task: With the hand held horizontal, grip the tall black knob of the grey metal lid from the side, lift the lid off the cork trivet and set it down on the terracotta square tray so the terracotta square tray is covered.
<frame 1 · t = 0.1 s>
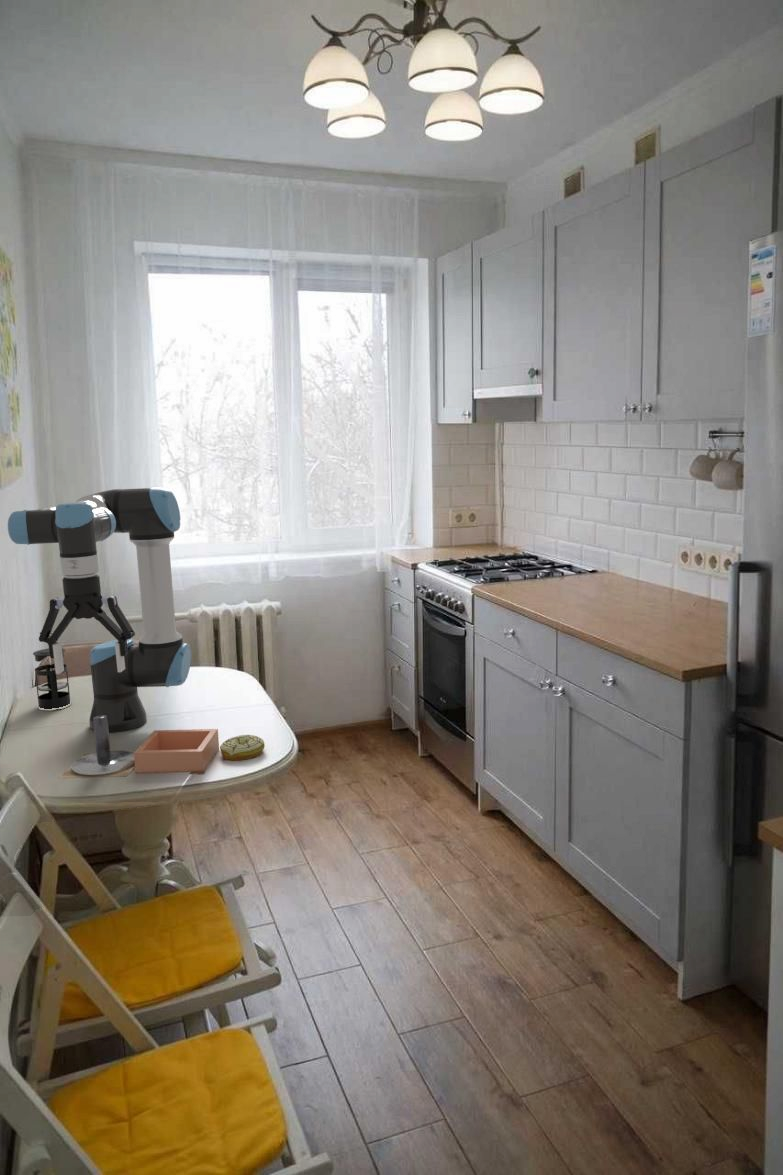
hand: (90, 671, 193), 28 cm above the table, tool pointing down, fingers open, 13 cm apart
trivet: (104, 766, 214), on the table
terracotta square tray: (179, 762, 215), on the table
lid: (104, 764, 214), point 1 cm above the table, touching trivet
french press: (54, 706, 267), on the table
decorated donut: (242, 755, 220), on the table
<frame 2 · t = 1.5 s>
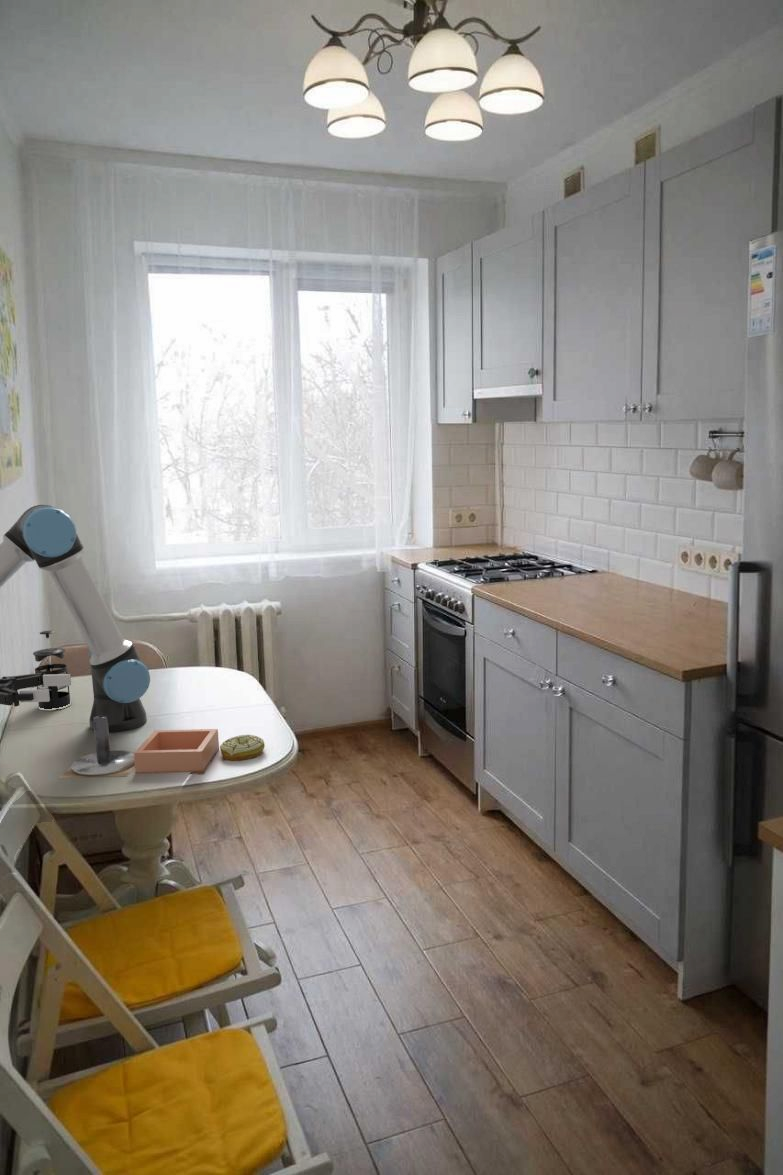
hand: (60, 687, 211), 20 cm above the table, tool horizontal, fingers open, 13 cm apart
nothing on the table moved.
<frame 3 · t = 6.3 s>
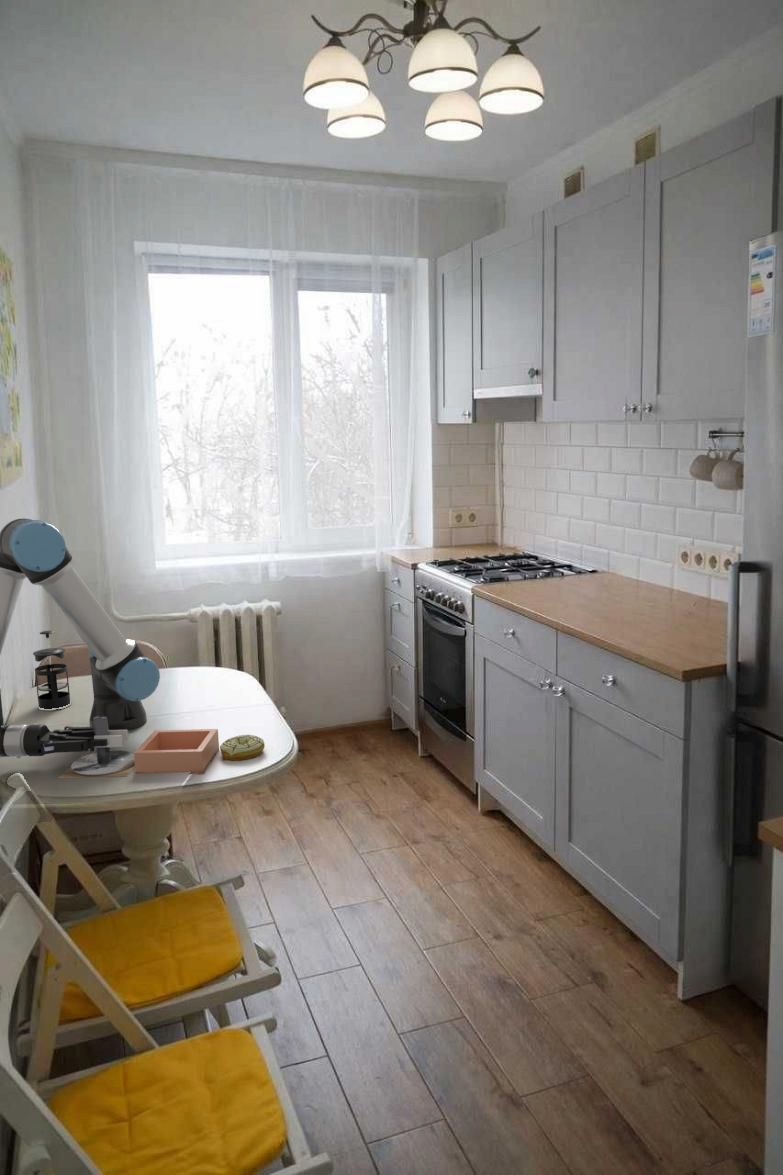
hand: (124, 738, 213), 7 cm above the table, tool horizontal, fingers closed on lid, 3 cm apart
lid: (104, 764, 214), point 1 cm above the table, touching gripper, trivet
everything else where it was.
when the fingers open (14 cm above the table, at t = 9.9 s): lid drops 2 cm, resting on terracotta square tray.
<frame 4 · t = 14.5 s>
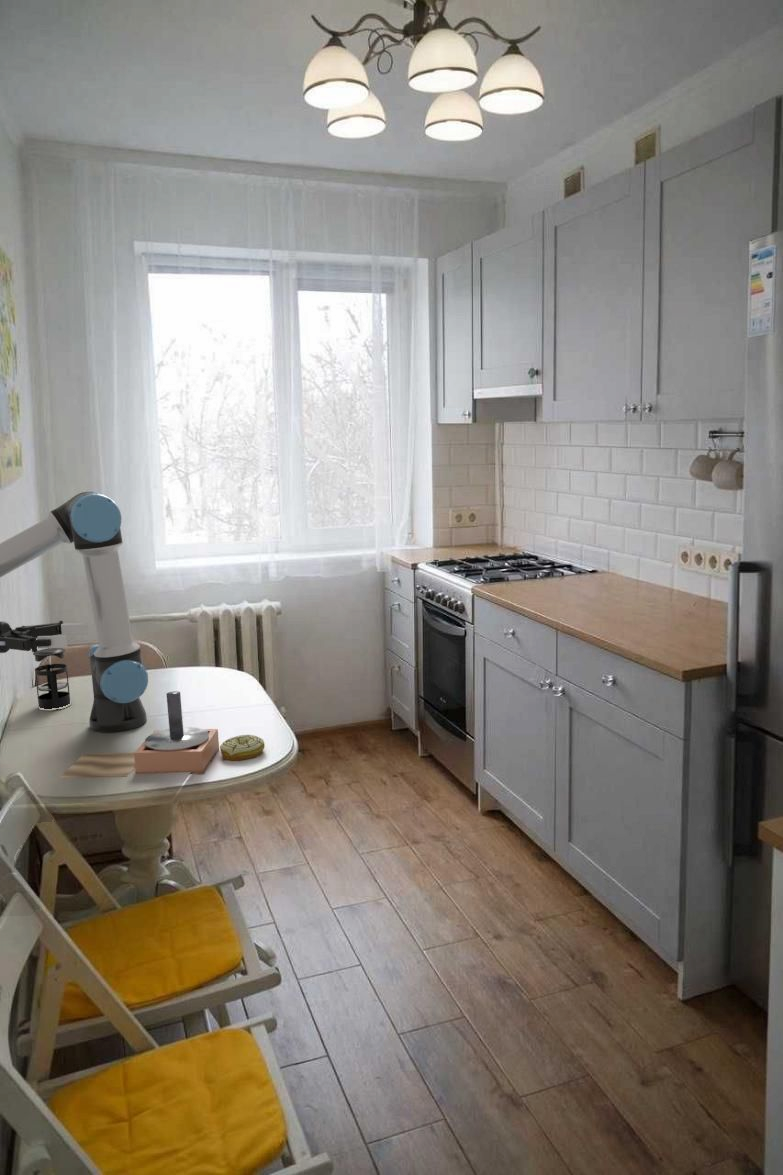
hand: (77, 634, 212), 32 cm above the table, tool horizontal, fingers open, 13 cm apart
lid: (177, 740, 214), point 5 cm above the table, touching terracotta square tray
everything else where it was.
at the end: lid 0.0 cm off-centre on the terracotta square tray, point 5.5 cm above the terracotta square tray's base; lid tilted 0°; the gripper is holding nothing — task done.
